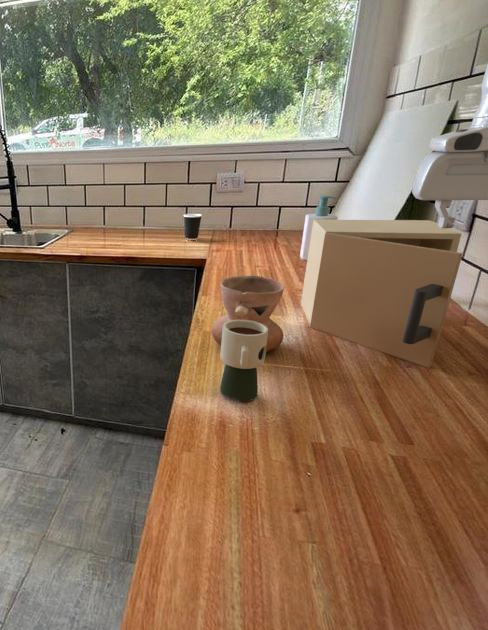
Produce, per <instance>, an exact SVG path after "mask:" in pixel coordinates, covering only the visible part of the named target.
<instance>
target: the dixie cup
mask: <svg viewBox="0 0 488 630" xmlns="http://www.w3.org/2000/svg"><path fill="white" fill-rule="evenodd" d="M202 217H203V214H201V213H185V214H183V222H184V223H183V224H184V238H185V239H186V238H187V239H197V240H198V238H199V233H200V228H201V221H202Z"/></svg>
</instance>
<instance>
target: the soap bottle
mask: <svg viewBox="0 0 488 630" xmlns="http://www.w3.org/2000/svg"><path fill="white" fill-rule="evenodd" d="M317 198H318V199H320V200H319V205H316V210H315V213H307V214H306V215H305V219H304V225H303V231H302V239H301V245H300V252H299V257H300V258H301V260H302V261H306V262H307V259H308V253H309V246H310V240H311V233H312V226H313V220H339V219H338V216H337V215H335V214H333V213H329V211H330V206H328V202H329V199H333V200H337V197H335V196H332V195H319V196H318V197H317Z"/></svg>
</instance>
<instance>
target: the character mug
mask: <svg viewBox="0 0 488 630" xmlns="http://www.w3.org/2000/svg"><path fill="white" fill-rule="evenodd" d="M267 337H268V328H267V327H266V326H265V325H263V324H261V323H258V322H254V321H249V320H232V321H228V322H226V323H224V325H223V330H222V342H221V345H220V353H219V354H220V355H219V356H220V357H219V358H220V360H221V362H222V363H223V364H225V365H224V369H223V373H222V376H221V381H220V386H219V392H220V393H221V394H222V395H223V396H225V397H228V398H230V399H234V400H237V401H245V402H250V401H254V400H255V399H256V398H257V397H258V393H259V392H258V389H259V388H258V387H259V385H258V368H259V367H262V366H263V365H264V363H265V360H266V354H267V352H266V345H267Z"/></svg>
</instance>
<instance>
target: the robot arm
mask: <svg viewBox="0 0 488 630" xmlns="http://www.w3.org/2000/svg"><path fill="white" fill-rule="evenodd" d="M480 89H481V90H480V91H481V99H480V104H479V106H478V107H477V109H476V111H475V113H474V114H473V118H472V120H471V125H469V126H467V127H464V128H460V129H458V130H457V129H456V130H454V131H450V132H447V133H444V134H441V135H437V136H435V137H433V138H432V139H431V140H430V143H429V150H430V151H432V152H430V153H428V154H427V155H426V156H425V157H423V159H422V160H421V162H420V165H419V166H418V169H417V172H416V175H415V177H414V180H413V184H412V189H411V193H412V195H413V197H414V198H415V199H417V200H420V201H435V203H434V207H435V209H436V211H437V214H438V216H439V220H438V222H437V224H438V227H440V228H449V229H453V227H454V223H455V222H456V217H454V216H451V215H449V212H448V210H447V208H450V207H451V205H452V202H453V201H488V63H487V65H486V68H485V72H484V74H483V79H482V83H481V87H480Z"/></svg>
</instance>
